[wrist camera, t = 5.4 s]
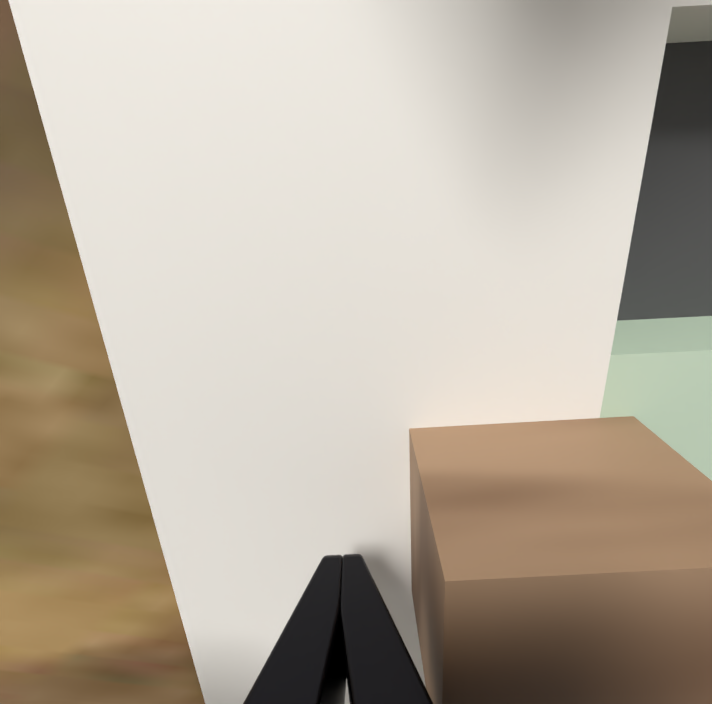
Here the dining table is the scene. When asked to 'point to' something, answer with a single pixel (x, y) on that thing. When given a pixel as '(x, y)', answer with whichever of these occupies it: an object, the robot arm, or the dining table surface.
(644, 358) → the tray
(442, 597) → the walnut block
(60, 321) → the dining table surface
